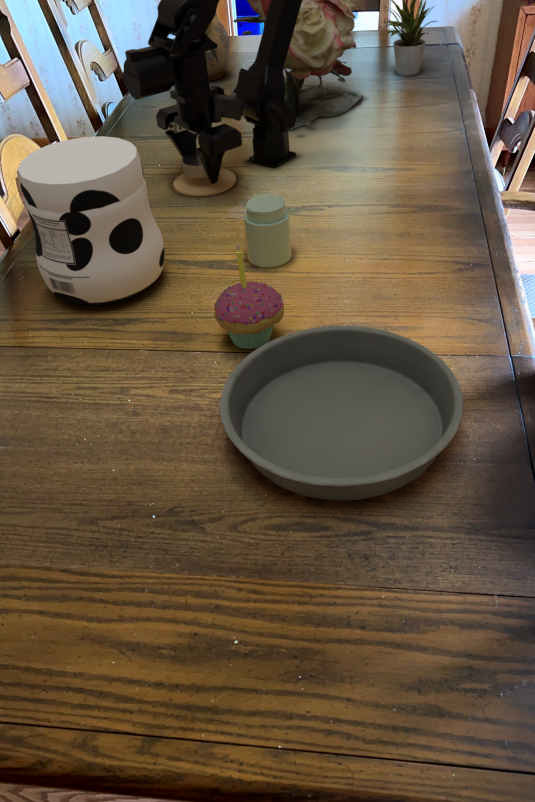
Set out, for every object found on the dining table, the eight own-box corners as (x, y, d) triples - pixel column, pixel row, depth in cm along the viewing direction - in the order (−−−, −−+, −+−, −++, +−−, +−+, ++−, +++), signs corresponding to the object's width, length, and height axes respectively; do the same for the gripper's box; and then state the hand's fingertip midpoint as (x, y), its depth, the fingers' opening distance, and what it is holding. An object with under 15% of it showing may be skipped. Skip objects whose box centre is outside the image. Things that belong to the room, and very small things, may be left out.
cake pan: (240, 355, 87) (236, 324, 84) (448, 356, 84) (451, 324, 81) (206, 511, 68) (200, 479, 65) (471, 520, 65) (477, 486, 62)
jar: (266, 241, 108) (262, 189, 102) (300, 252, 104) (298, 199, 99) (238, 259, 104) (233, 206, 99) (273, 272, 101) (268, 217, 95)
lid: (176, 169, 125) (174, 158, 123) (209, 158, 127) (208, 147, 126) (195, 181, 120) (194, 169, 119) (230, 169, 123) (228, 158, 122)
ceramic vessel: (201, 67, 177) (186, -50, 161) (237, 66, 176) (226, -53, 160) (188, 89, 165) (171, -36, 149) (227, 88, 164) (214, -39, 147)
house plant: (375, 61, 171) (377, -16, 160) (435, 59, 169) (440, -19, 158) (374, 81, 160) (376, -1, 149) (437, 79, 158) (443, -4, 147)
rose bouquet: (300, 138, 138) (293, -43, 118) (213, 104, 156) (194, -57, 136) (393, 102, 149) (401, -68, 129) (302, 75, 167) (296, -78, 147)
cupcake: (208, 330, 91) (196, 245, 83) (270, 311, 93) (263, 227, 85) (233, 367, 85) (221, 279, 77) (298, 346, 87) (293, 259, 79)
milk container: (165, 244, 109) (143, 126, 97) (173, 305, 96) (149, 176, 84) (50, 261, 108) (14, 143, 96) (43, 325, 95) (0, 197, 83)
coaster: (203, 165, 131) (203, 162, 131) (248, 177, 126) (248, 175, 125) (160, 187, 125) (160, 185, 125) (206, 201, 119) (206, 199, 119)
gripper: (265, 84, 112) (272, 179, 122) (204, 60, 124) (215, 149, 134) (205, 102, 107) (217, 199, 117) (147, 75, 119) (163, 166, 129)
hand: (204, 177), depth 125 cm, fingers closed on lid, 6 cm apart
